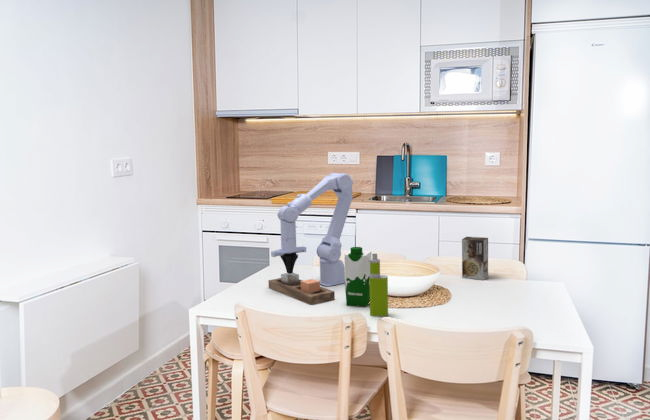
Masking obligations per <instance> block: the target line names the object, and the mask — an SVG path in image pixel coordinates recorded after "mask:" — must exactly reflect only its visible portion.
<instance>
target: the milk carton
mask: <svg viewBox="0 0 650 420" xmlns="http://www.w3.org/2000/svg"><path fill="white" fill-rule="evenodd" d="M370 259H372V250H363V247H361V246H352V247H350V250H349V251H347V252H346V253H344V267H345V283H344V286H345V288H344V289H345V291H344V292H345V302H346V306H351V307H364V308H366V307H367V306H368V305H369V304H370V303H369V302H370V285H369V276H370ZM368 303H369V304H368Z"/></svg>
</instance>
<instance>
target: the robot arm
mask: <svg viewBox="0 0 650 420" xmlns="http://www.w3.org/2000/svg"><path fill="white" fill-rule="evenodd" d="M353 185H354V180H353V179H352V177H351V176H350V175H349V174H348V173H346V172H345V173H339V172H331V173H329V174H328V175H326V176H325V177H323V179H322V180H321V181H320V182H319V183H318V184H316V185H314V187H313V188H311V189H310V190H309V191H308V192H307V193H298V194H297V195H296V197H295V198H294V199H292V200H291V201H289V202H287V204H286V205H283V206H282V207H280V208H279V211H278V212H277V218H278V219H279V221H280V242H281V243H280V249H276V250H272V251H270V256H271V257H273V258H276V257H280V258H281V260H282V262H283V264H284V267H285V270H286V273H289V274H290V273H294V268H295V265H296V262H297V259H298V258H299V254H301V253H307V247H306V246H297V228H296V227H297V225H296V224H297V223H296V221H297V220H298V218H299V215H301V214H302V213H303V212H305V211H306V210H307V209H309V208H310V207H311V206H312V202H313V200H315V199H317V198H319V196H321V195H322V194H324V193H325V192H326V191H329V190H332V191H333V192H334V193H335V195H336V196H337V201H336V204H335V208H334V210H333V214H332V216H331V220H330V223H329V227H328V229H327V233H326V236H324V237H322V239H321V242H320V243H319V244H318V246H317V247H316V255H317V257H318V258H319V276H320V277H319V278H320V279H319V280H318V281H319V282H320V286H321V285H322V286H325V287H331V286H335V285H340V284H345V262H343V260H341V257H342V256H341V255H342V246H343V245H342V242H341V236H342V233H343V229H344V227H345V224H346V220H347V217H348V214H349V211H350V207H351V206H352V205H351V204H352V201H353V198H354V194H353Z"/></svg>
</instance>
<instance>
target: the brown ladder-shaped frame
mask: <svg viewBox="0 0 650 420" xmlns="http://www.w3.org/2000/svg"><path fill="white" fill-rule="evenodd" d="M301 281H304V280H302V279H300V278H299V283H298V284H293V285H286V284H284V283H281V277H278V278H273V279H268V289H271V290H273V291H276V292H277V293H280V294H283V295H286V296H287V297H291V298H293V299H296V300H298V301H301V302H303V303H305V304H308V305H311V306H313V305H318V304H322V303H327V302H331V301H335V294H336V293H335V290H334V291H333V290H331V289H328V288H326V287H322V286H320V291H316V292H312V293H308V292H305V291H302V290H301Z"/></svg>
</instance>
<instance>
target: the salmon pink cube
mask: <svg viewBox="0 0 650 420" xmlns="http://www.w3.org/2000/svg"><path fill="white" fill-rule="evenodd" d="M319 281H320V280H316V279H313V278H311V279H305V280H303V281H301V290H302V291H305V292H308V293H310V294H311V293H312V292H316V291H320V287H321V284H320V282H319Z"/></svg>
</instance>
